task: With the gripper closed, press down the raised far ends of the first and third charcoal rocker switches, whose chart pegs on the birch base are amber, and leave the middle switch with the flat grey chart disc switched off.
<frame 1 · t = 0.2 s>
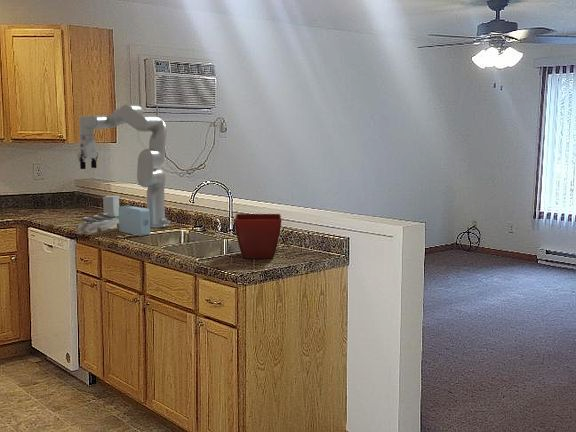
hand: (88, 168, 392), 31 cm above the worktop, fingers open, 9 cm apart
skincare box: (112, 223, 391), on the worktop
light blue rectangular block: (134, 233, 356), on the worktop
rocker a: (108, 216, 371), point 6 cm above the worktop, hinge at -10.0°
rocker b: (99, 218, 364), point 6 cm above the worktop, hinge at -10.0°
plant pot: (258, 256, 292), on the worktop
rocker c: (89, 220, 357), point 6 cm above the worktop, hinge at -10.0°
switch unit: (101, 230, 364), on the worktop
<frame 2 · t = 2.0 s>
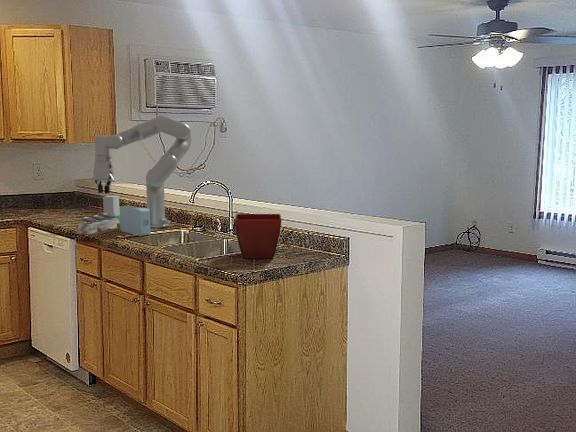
hand: (103, 192, 371), 19 cm above the worktop, fingers open, 3 cm apart
nothing on the worktop moved.
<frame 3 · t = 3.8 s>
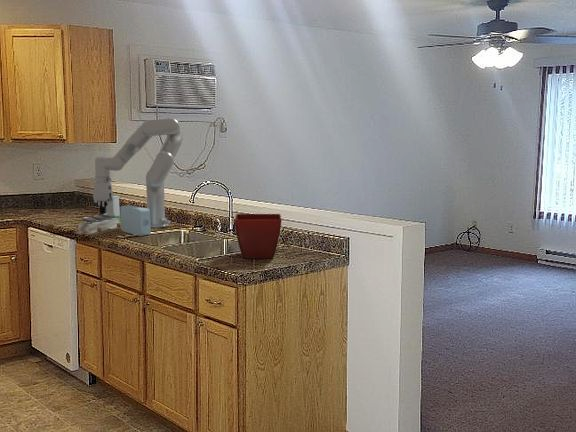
hand: (102, 213, 372), 8 cm above the worktop, fingers closed
rocker a: (108, 216, 371), point 6 cm above the worktop, hinge at -7.8°, touching gripper
everything else where it was.
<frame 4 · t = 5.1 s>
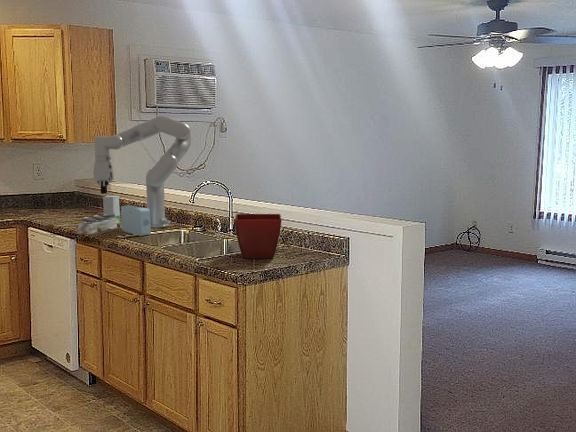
hand: (104, 193, 371), 19 cm above the worktop, fingers closed
rocker a: (108, 216, 371), point 6 cm above the worktop, hinge at 3.5°
everything else where it was.
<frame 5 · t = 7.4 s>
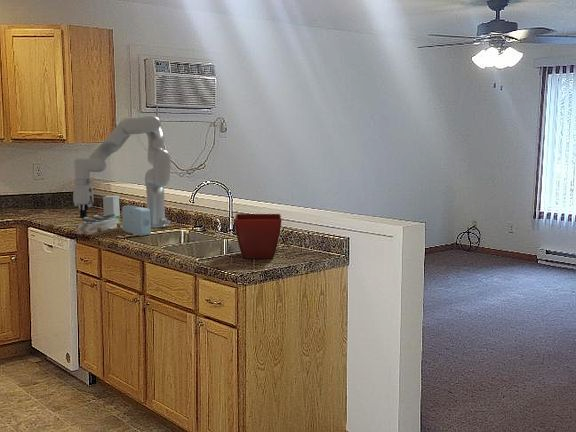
hand: (83, 217, 358), 8 cm above the worktop, fingers closed
rocker a: (108, 216, 371), point 6 cm above the worktop, hinge at 9.5°
rocker c: (88, 220, 357), point 6 cm above the worktop, hinge at -8.7°, touching gripper
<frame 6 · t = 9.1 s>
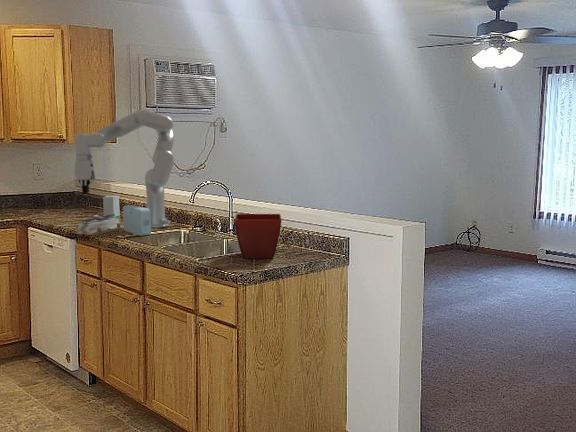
hand: (85, 193, 360), 20 cm above the worktop, fingers closed
rocker a: (108, 216, 371), point 6 cm above the worktop, hinge at 10.7°
rocker c: (88, 220, 357), point 6 cm above the worktop, hinge at 6.9°
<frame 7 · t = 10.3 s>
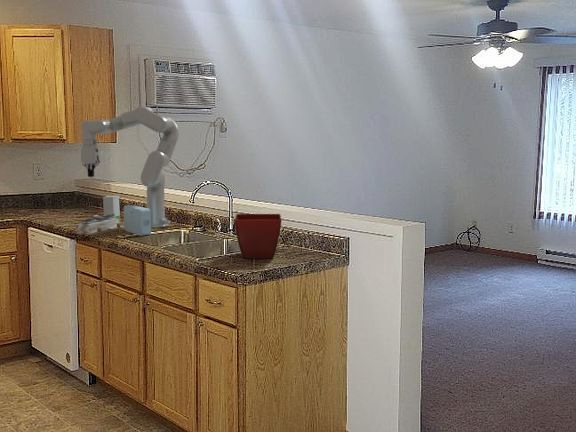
hand: (91, 176, 380), 27 cm above the worktop, fingers closed
rocker a: (108, 216, 371), point 6 cm above the worktop, hinge at 11.1°
rocker c: (88, 220, 357), point 6 cm above the worktop, hinge at 10.9°
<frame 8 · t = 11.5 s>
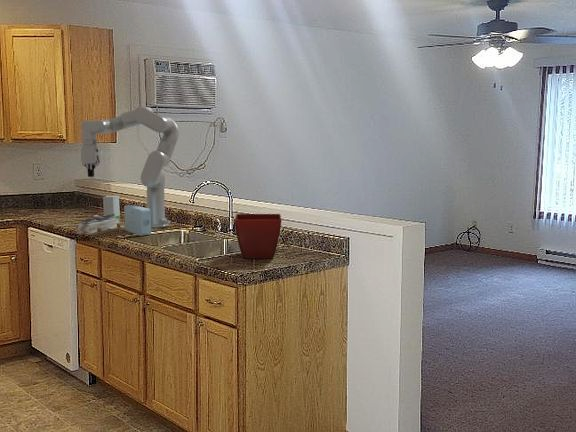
hand: (91, 176, 380), 27 cm above the worktop, fingers closed
rocker c: (88, 220, 357), point 6 cm above the worktop, hinge at 12.8°
at the end: rocker a at +11° (first picture: -10°); rocker c at +13° (first picture: -10°); rocker b at -10° (first picture: -10°) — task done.
